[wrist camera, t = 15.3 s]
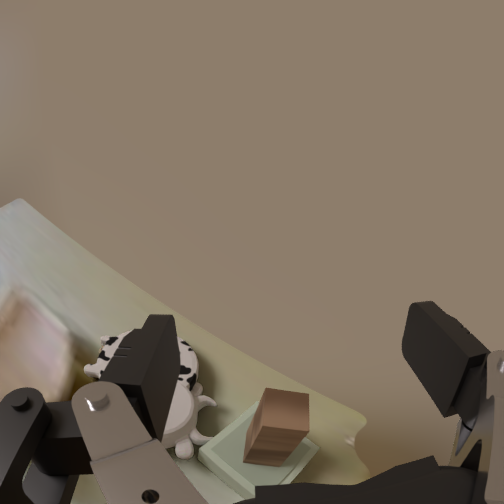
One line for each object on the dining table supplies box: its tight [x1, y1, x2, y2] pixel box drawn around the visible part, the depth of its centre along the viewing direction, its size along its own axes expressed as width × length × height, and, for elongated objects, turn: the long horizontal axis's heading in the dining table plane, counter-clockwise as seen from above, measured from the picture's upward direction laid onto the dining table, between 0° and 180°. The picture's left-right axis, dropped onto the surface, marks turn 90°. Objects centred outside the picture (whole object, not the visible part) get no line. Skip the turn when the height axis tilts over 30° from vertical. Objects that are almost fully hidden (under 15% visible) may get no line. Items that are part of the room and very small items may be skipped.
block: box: [243, 388, 309, 467], centre depth 31 cm, size 4×4×11 cm
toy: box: [84, 330, 217, 459], centre depth 41 cm, size 22×5×20 cm
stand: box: [198, 401, 320, 500], centre depth 35 cm, size 11×11×4 cm
